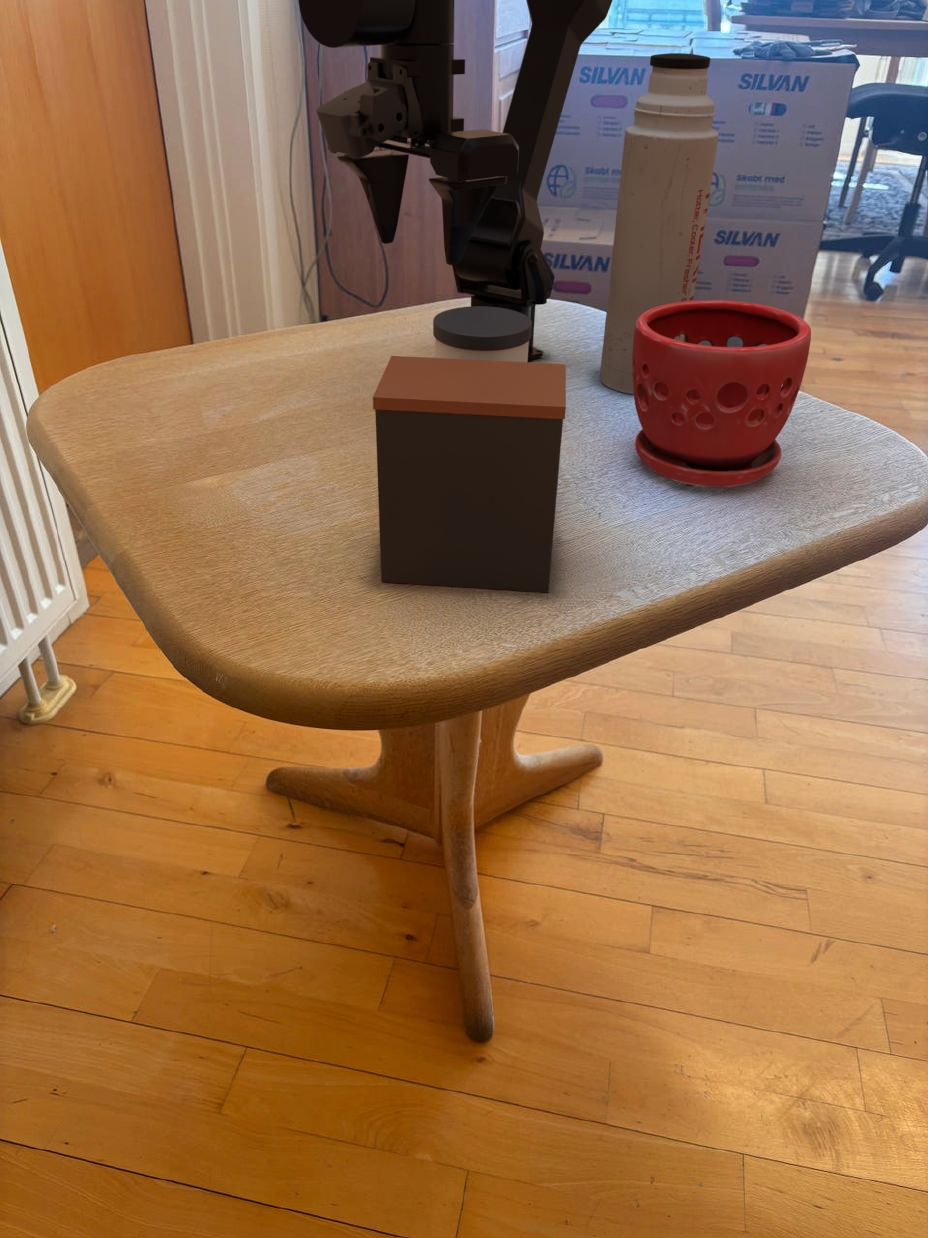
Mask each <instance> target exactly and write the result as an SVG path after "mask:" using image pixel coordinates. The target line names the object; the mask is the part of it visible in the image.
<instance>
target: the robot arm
mask: <svg viewBox="0 0 928 1238" xmlns="http://www.w3.org/2000/svg"><path fill="white" fill-rule="evenodd" d="M297 1H298V7H299V12H300V16H301V19H302V21H303V24H304V26H305V28H306V29H307V31H308V33H309V34H310V35H311V36H312V38H313V40H315V41H316V42H318V43H319V44H320V45H322V46H324V47H327V48H330V49H335V48H336V49H337V48H354V47H367V46H368V47H370V46H371V47H372V46H380V56H370V57H369V62H368V63H367V65H366V71H367V72H366V73H367V76H366V81H364V82H363V83H361V84H359V85H356V86H353V87H351V88H349V89H347V90H345V91H344V92H341V94H339V95H337V96H335V97H333V98H331V99H330V100H328V101H326V102H325V103H323V104H321V105H320V106H318V107H317V108H316V111H315V112H316V115H317V119H318V121H319V123H320V127H321V129H322V132H323V133H322V134H323V135H324V138H325V141H326V145H327V150H329V152H330V153H331V154H335V155H336V154H337V153H341V154H337V156H336V158H337V160H338V162H340V163H342V164H344V165H345V166H346V167H347V168H348V169H349V170H350V171H351V172H353V173H354V174H355V176H357V178H358V179H359V181H360V184H361V186H362V189H363V191H364V194H365V198H366V200H367V203H368V207H369V208H370V213H371V215H372V218H373V222H374V224H375V227H376V230H377V233H378V237H379V240H380V242H381V243H382V244H384V245H386V244H392V243H393V242H394V240H395V236H396V233H397V228H398V223H399V219H400V218H399V217H400V213H401V206H402V200H403V195H404V189H405V188H404V187H405V182H406V176H407V170H408V166H409V165H408V164H409V158H410V155H413V156H417V157H422V158H427V159H429V163H430V165H431V167H432V170H433V172H434V173H435V175H436V176H437V177H431V178H428V182H429V183H430V185H431V186H432V187H433V189H434V190H435V191H436V193H437V194H438V195H439V197H440V199H441V209H442V211H441V212H442V231H443V232H442V233H443V249H444V256H445V257H444V258H445V263H446V265H449V266H451V267H452V272H453V276H454V277H453V278H454V281H455V286H456V290H457V293H458V294H463V295H464V294H467V295H471V296H470V307H471V306H486V307H498V308H504V309H509V310H513V311H517V312H519V313H522V314H524V315H526V316H527V317H529V318H530V319H531V321H532V331H531V338H530V340H529V345H528V361H531V360H534V359H538V358H542V357H543V356H544V351H543V350H541V349H540V348H537V347H534V335H535V322H536V321H535V320H536V319H535V318H536V306H539V305H543V306H544V305H546V304H547V302H548V299H549V298H551V295H552V292H553V289H554V283H555V278H556V277H555V274H554V272H553V270H552V268H551V266H550V264H549V262H548V261H547V259H546V257H545V255H544V253H543V251H542V246H543V240H544V236H545V230H544V226H543V222H542V217H541V214H540V209H539V205H538V198H539V195H540V194H539V193H540V189H541V186H542V183H543V178H544V176H545V172H546V169H547V165H548V162H549V158H550V154H551V151H552V147H553V145H554V141H555V138H556V134H557V133H556V132H557V131H558V126H559V123H560V120H561V116H562V112H563V108H564V105H565V102H566V99H567V95H568V91H569V88H570V85H571V82H572V81H571V80H572V78H573V73H574V71H575V68H576V67H575V66H576V63H577V59H578V56H579V53H580V49H581V46H582V45H583V43H584V42H585V41H586V40H587V39H588V38H589V37H590V36H591V35H592V34H593V33H594V31H596V29H597V28H598V27H599V26H600V25H601V24H602V23H603V22H604V21H605V19H606V18H607V16H608V13H609V11H610V8H611V6H612V3H613V1H614V0H525V2H526V5H527V9H528V14H529V18H530V23H531V24H530V25H531V26H530V30H529V35H528V38H527V41H526V44H525V49H524V52H523V56H522V59H521V64H520V66H519V70H518V74H517V78H516V81H515V85H514V89H513V92H512V95H511V99H510V103H509V107H508V110H507V115H506V118H505V121H504V125H503V129H502V132H499V131H494V130H488V129H482V128H481V129H480V128H479V129H471V130H465V118H464V117H458V116H454V94H455V93H454V92H455V91H454V87H455V86H454V85H455V84H454V83H455V82H454V81H455V78H454V77H455V76H456V75H466V59H465V58H456V57H455V11H456V9H455V3H456V0H297ZM408 139H410V141H409V140H408Z"/></svg>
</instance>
